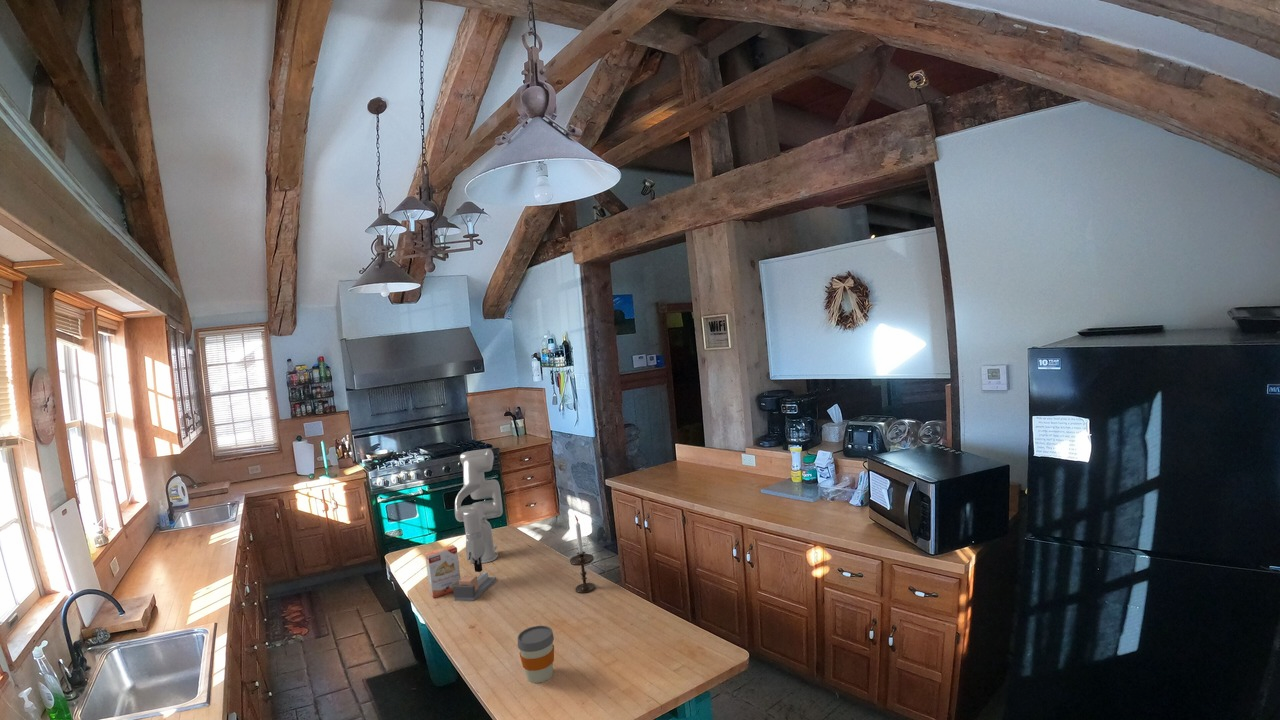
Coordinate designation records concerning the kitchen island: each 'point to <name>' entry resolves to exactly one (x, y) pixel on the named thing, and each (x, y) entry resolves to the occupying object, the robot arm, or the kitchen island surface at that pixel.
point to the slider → (469, 581)
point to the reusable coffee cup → (537, 653)
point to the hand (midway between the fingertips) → (478, 571)
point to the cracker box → (442, 570)
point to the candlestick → (582, 564)
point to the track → (480, 589)
